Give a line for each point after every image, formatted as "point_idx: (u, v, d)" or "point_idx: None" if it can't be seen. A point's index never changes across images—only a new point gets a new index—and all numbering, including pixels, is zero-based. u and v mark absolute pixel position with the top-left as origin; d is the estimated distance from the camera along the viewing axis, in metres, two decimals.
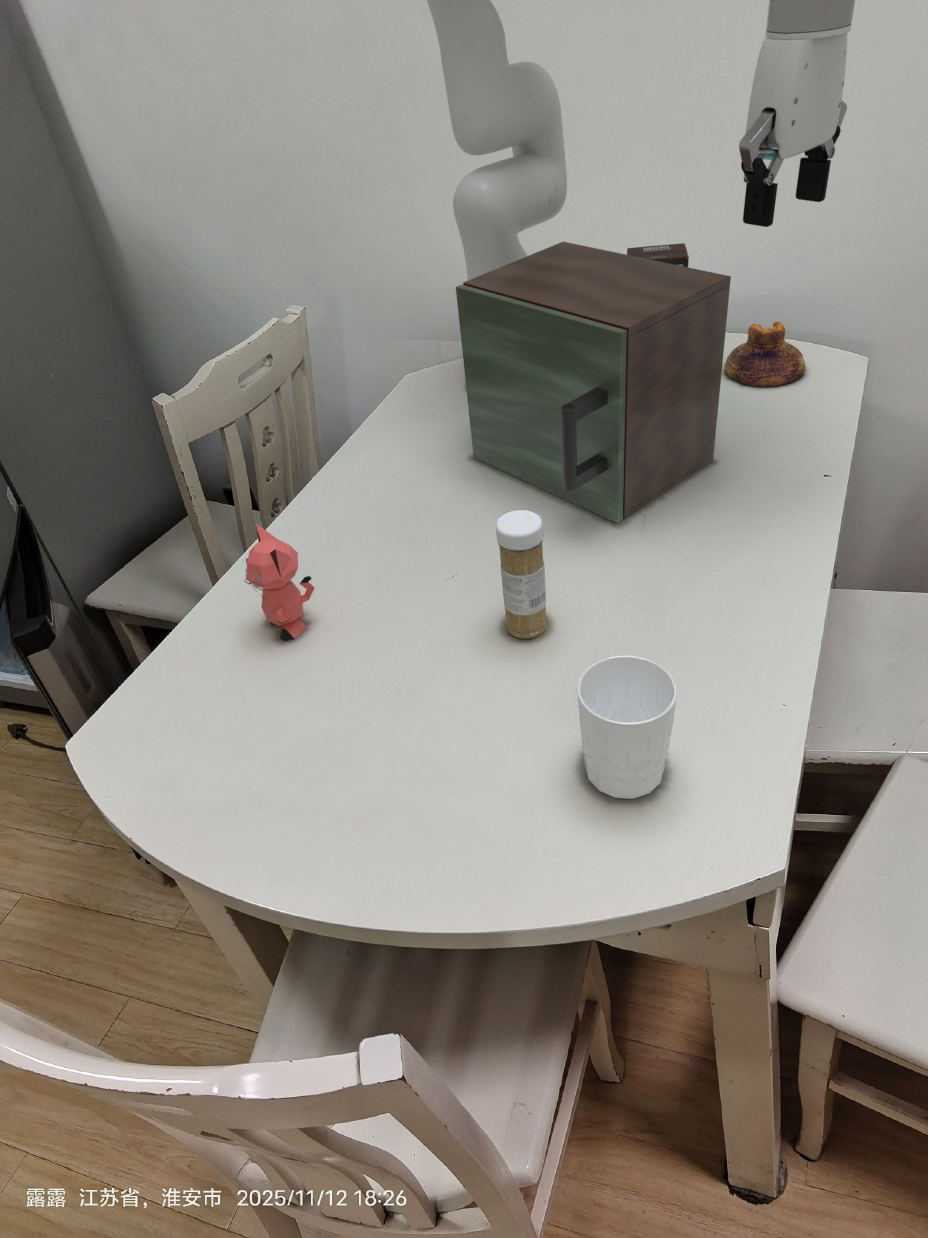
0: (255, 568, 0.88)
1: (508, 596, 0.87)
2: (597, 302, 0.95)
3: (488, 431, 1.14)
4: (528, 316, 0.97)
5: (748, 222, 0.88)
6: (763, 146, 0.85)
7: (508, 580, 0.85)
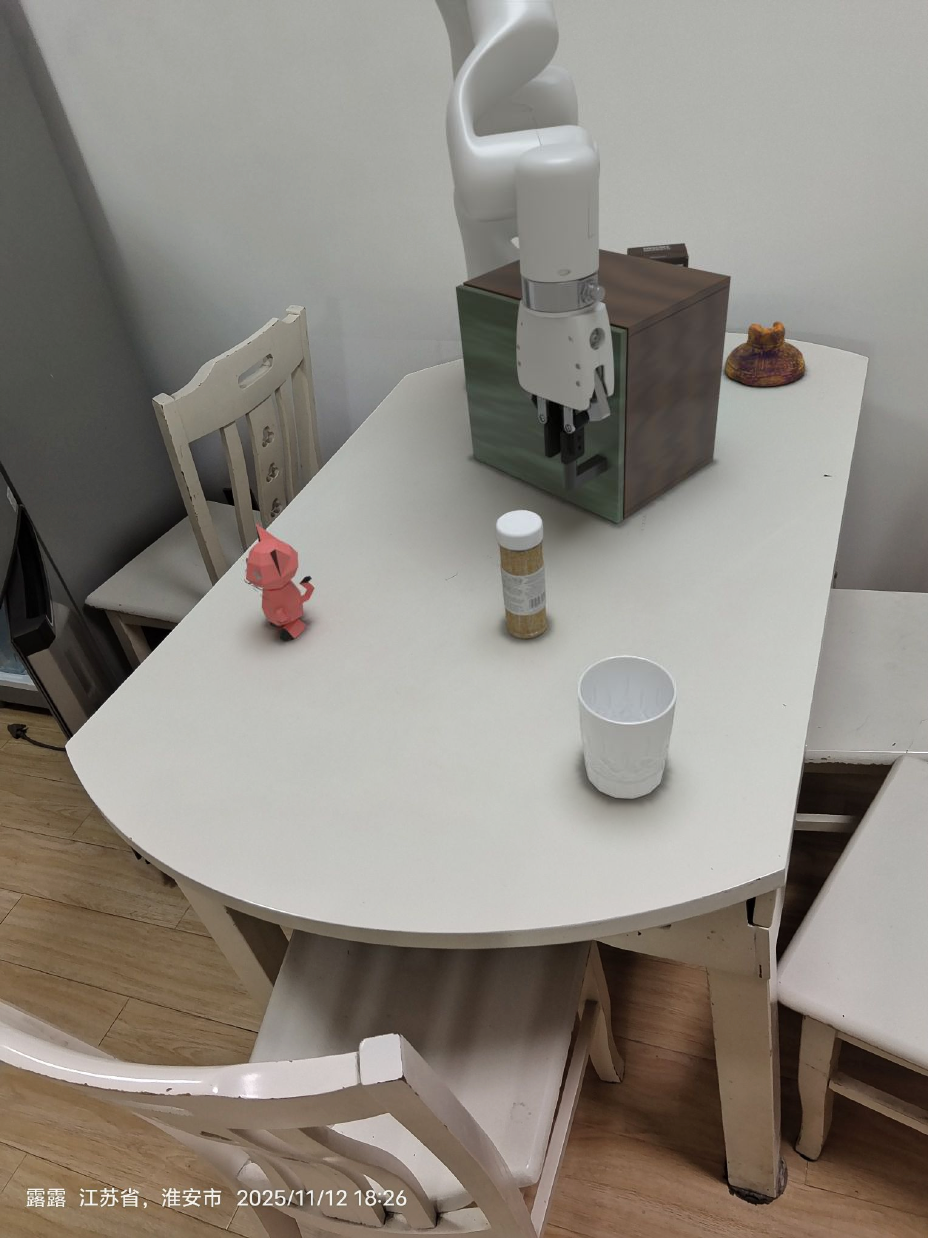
0: (255, 568, 0.88)
1: (508, 596, 0.87)
2: None
3: (488, 431, 1.14)
4: None
5: None
6: None
7: (508, 580, 0.85)
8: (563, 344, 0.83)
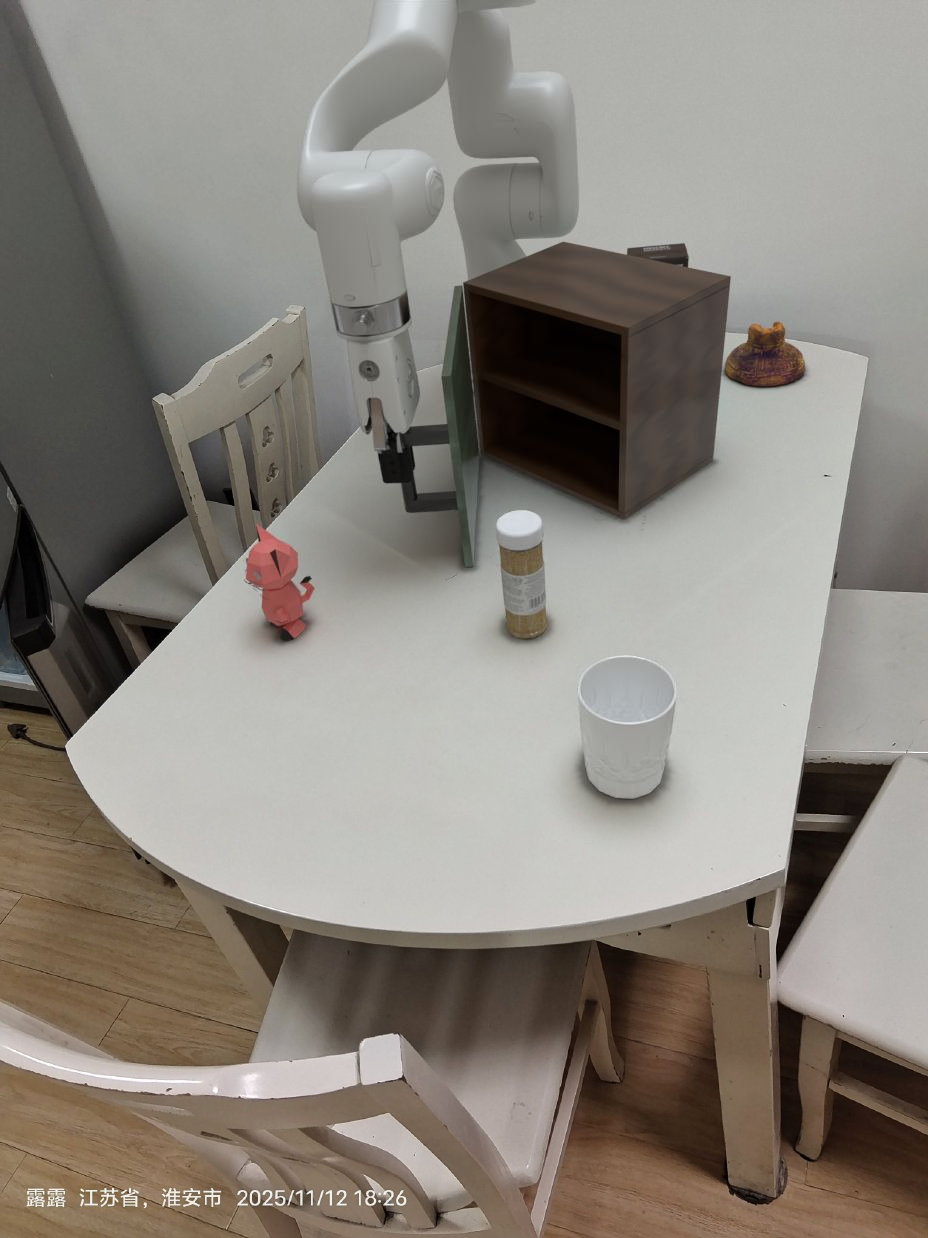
0: (255, 568, 0.88)
1: (508, 596, 0.87)
2: (597, 302, 0.95)
3: None
4: None
5: None
6: None
7: (508, 580, 0.85)
8: None
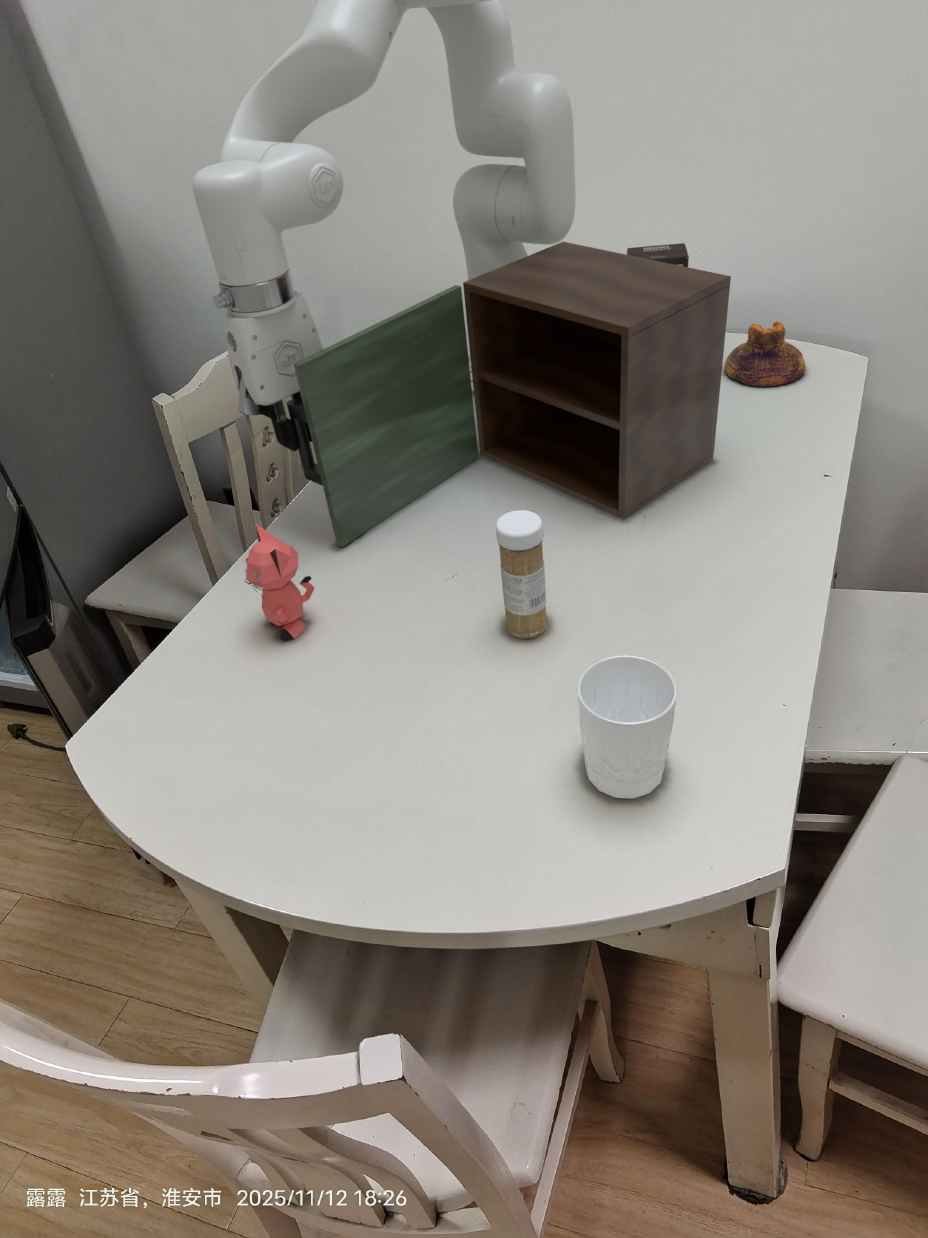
0: (255, 568, 0.88)
1: (508, 596, 0.87)
2: (597, 302, 0.95)
3: None
4: None
5: None
6: None
7: (508, 580, 0.85)
8: None
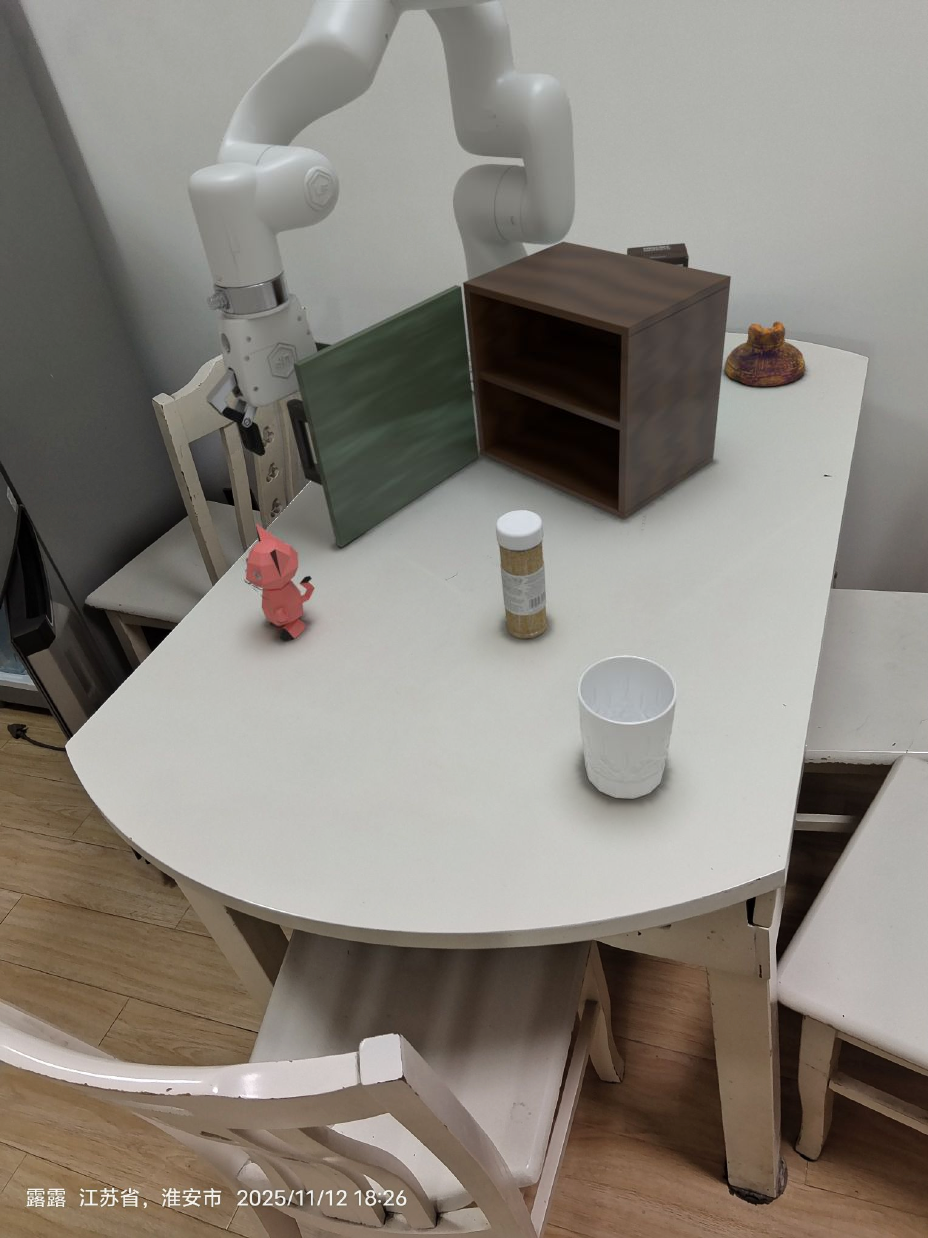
0: (255, 568, 0.88)
1: (508, 596, 0.87)
2: (597, 302, 0.95)
3: None
4: None
5: None
6: None
7: (508, 580, 0.85)
8: None
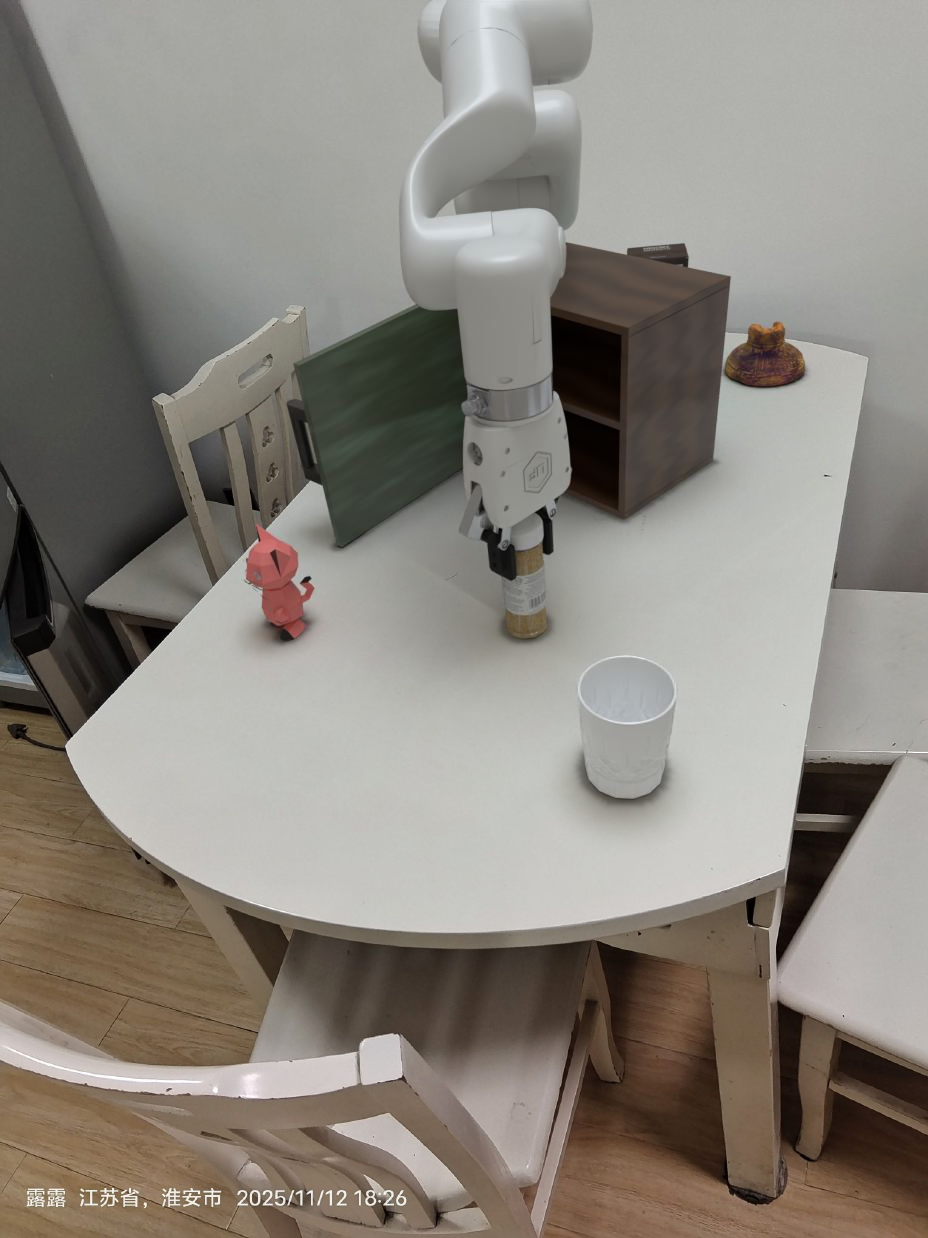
0: (255, 568, 0.88)
1: (508, 596, 0.87)
2: (597, 302, 0.95)
3: None
4: None
5: None
6: None
7: (508, 580, 0.85)
8: None
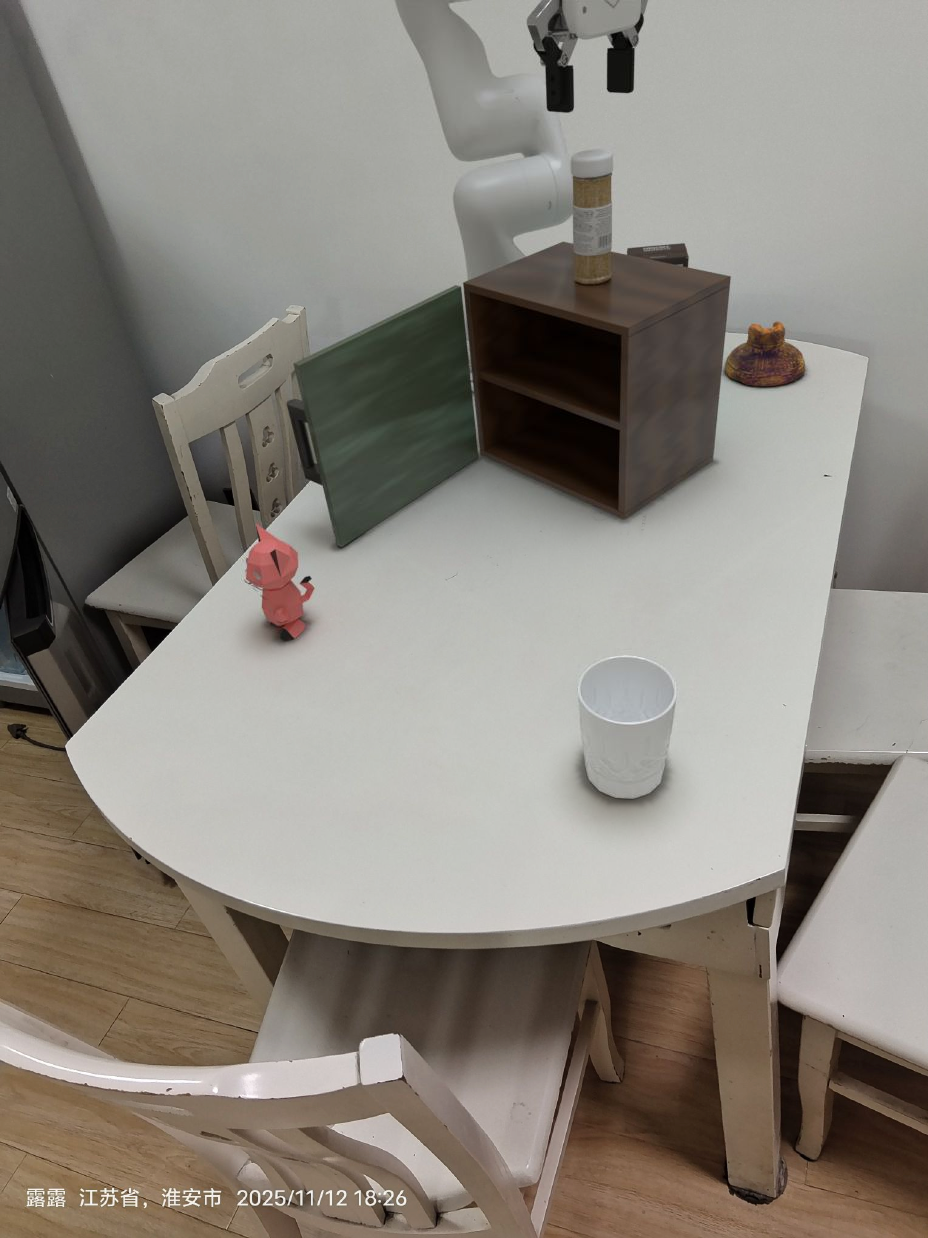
0: (255, 568, 0.88)
1: (579, 236, 0.97)
2: (597, 302, 0.95)
3: None
4: None
5: None
6: None
7: (580, 216, 0.95)
8: None
